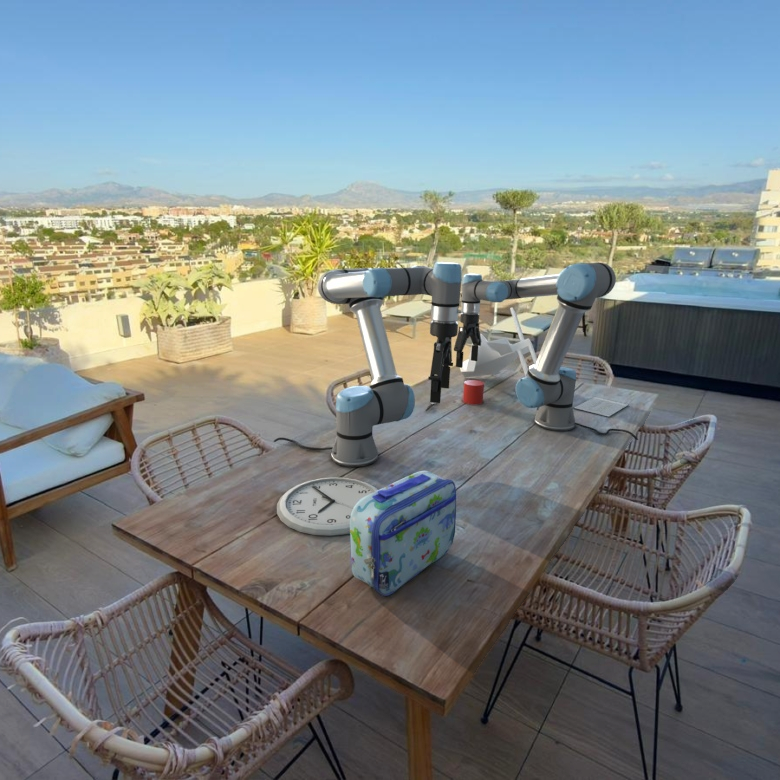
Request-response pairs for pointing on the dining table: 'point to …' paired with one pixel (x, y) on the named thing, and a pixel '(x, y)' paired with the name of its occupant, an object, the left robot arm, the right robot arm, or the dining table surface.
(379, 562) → the lunch box
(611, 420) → the dining table surface
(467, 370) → the white plastic object
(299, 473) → the dining table surface
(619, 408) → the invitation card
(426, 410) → the fork
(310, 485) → the wall clock
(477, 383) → the canister
